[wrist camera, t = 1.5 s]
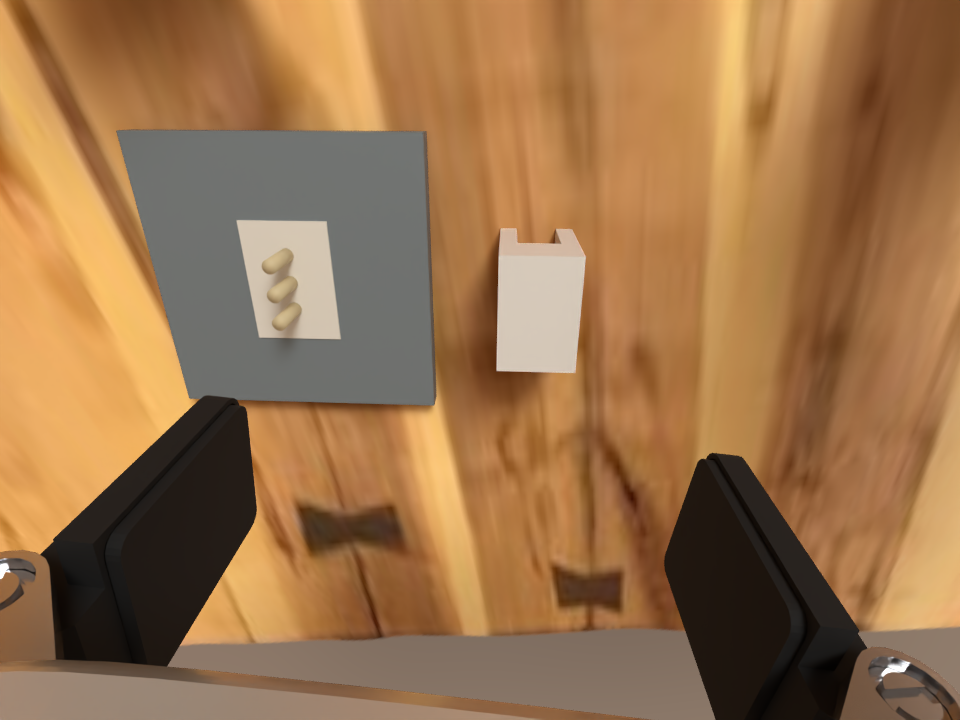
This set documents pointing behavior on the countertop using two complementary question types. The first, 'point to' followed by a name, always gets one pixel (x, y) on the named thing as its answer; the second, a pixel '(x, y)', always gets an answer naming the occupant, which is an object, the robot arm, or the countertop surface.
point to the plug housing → (539, 303)
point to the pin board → (291, 260)
